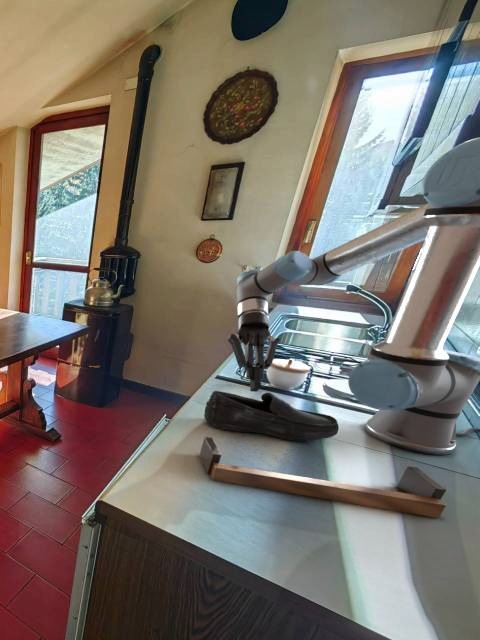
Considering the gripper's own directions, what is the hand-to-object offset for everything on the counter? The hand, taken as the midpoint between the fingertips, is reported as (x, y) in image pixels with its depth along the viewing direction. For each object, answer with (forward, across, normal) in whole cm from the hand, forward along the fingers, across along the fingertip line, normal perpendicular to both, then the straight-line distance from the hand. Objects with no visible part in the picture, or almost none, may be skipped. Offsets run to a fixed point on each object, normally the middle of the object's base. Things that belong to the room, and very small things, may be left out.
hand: (255, 389), depth 108 cm
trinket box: (-13, -17, -23) cm, 31 cm away
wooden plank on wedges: (+29, 0, +20) cm, 35 cm away
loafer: (+13, 0, +4) cm, 14 cm away
